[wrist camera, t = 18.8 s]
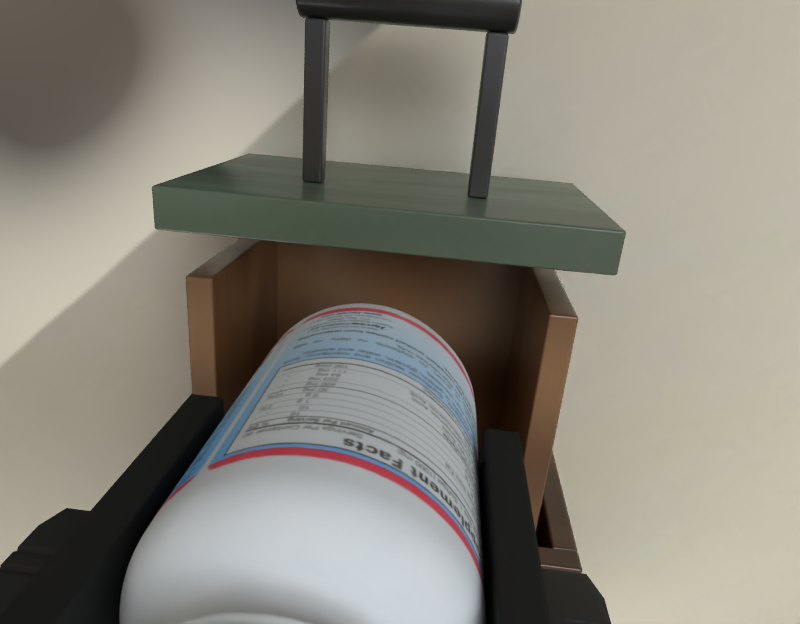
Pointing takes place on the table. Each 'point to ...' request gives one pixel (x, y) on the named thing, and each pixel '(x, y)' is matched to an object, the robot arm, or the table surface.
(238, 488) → the pill bottle
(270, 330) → the drawer
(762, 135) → the table surface
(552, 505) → the cabinet
